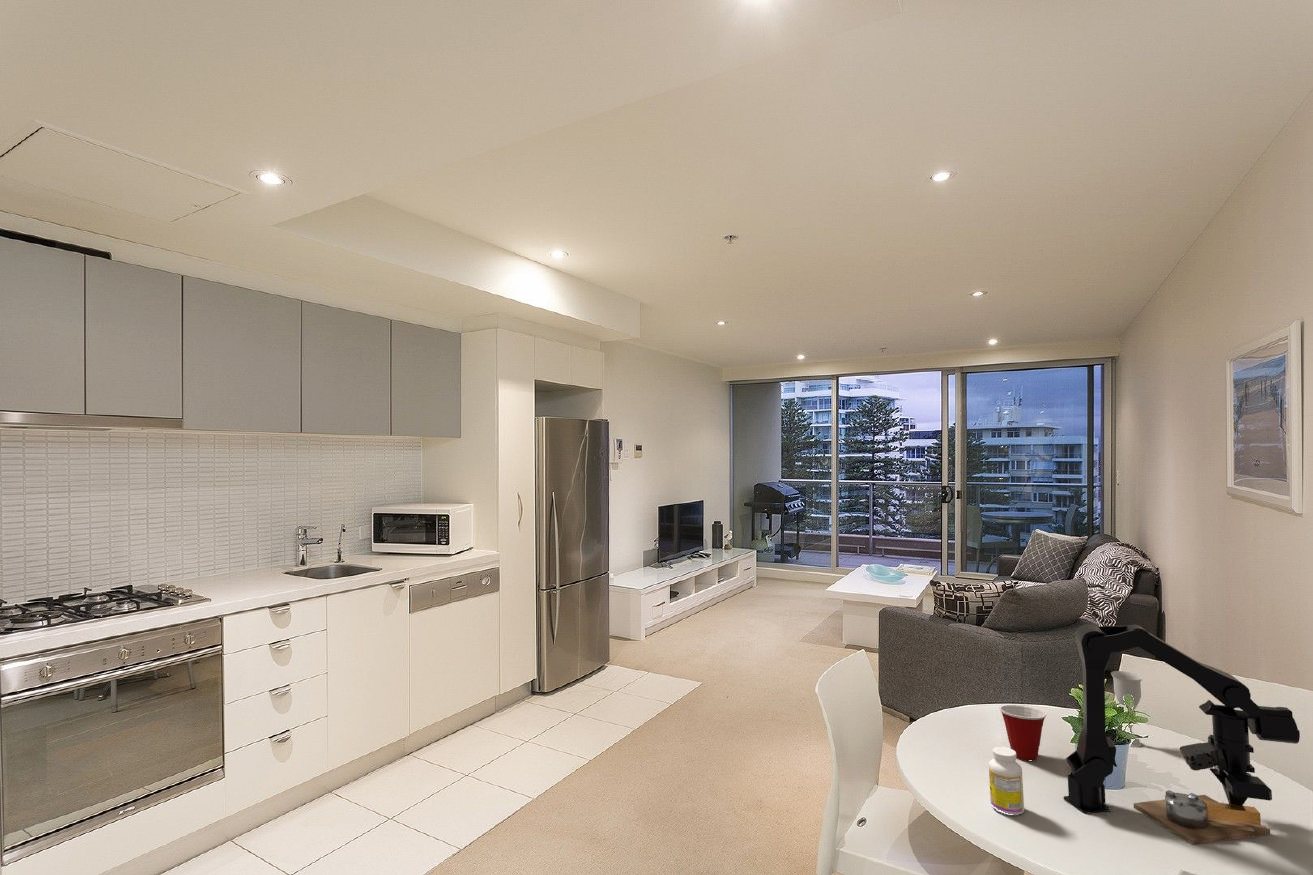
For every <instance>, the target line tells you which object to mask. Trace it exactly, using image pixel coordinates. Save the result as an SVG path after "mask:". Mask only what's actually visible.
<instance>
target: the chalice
mask: <svg viewBox="0 0 1313 875" xmlns="http://www.w3.org/2000/svg"><path fill="white" fill-rule="evenodd" d="M1110 675H1111V676H1112V678H1113V693H1114V695H1115V697H1116V700H1117V702H1118V703H1119V705H1120V704H1122V705H1125V704H1124V700H1123V696H1124V695H1126V694H1130V695H1132V696H1133V698H1134V707H1133V710H1134V711H1136V709H1137V707H1138V705H1139V703H1140V701H1141V697H1142V689H1141V687H1142V685H1141V682H1142V680H1143V677H1142V675H1140V674H1137V673H1135V672H1130V671H1120V670H1114V671H1111V672H1110ZM1128 727H1129V728H1130V732H1131V733H1133V734H1135V733H1134V732H1133V730H1132V729H1133V727H1134V724H1133V725H1129V726H1128ZM1130 747H1131V748H1140V747H1142V743H1141V740H1140V739H1139V738H1138V739H1135V740H1134V741H1133V742H1132V744H1131V746H1130Z"/></svg>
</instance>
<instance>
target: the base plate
mask: <svg viewBox="0 0 1313 875" xmlns="http://www.w3.org/2000/svg"><path fill="white" fill-rule="evenodd" d="M1197 795H1198V797H1199V799H1201V800H1202V801H1210V802H1218V803H1220V802H1219V801H1217V800H1215V799H1213V798H1211V797H1210V796H1207V795H1206V794H1197ZM1133 809H1135V810H1137V811H1139V812H1140V813H1142V814H1144V815H1145V816H1146V817H1148V818H1150V819H1151V820H1153V821H1155V822H1156V823H1158V824H1159V825H1160V826H1163V827H1165V828H1166V829H1168V830H1169V831H1171V832H1172V833H1174V834H1176V835H1177V836H1179V837H1181V838H1183V839H1184V840H1185V841H1187V842H1189V843H1191V845H1199V844H1207V843H1215V842H1222V841H1223V842H1225V841H1231V840H1237V839H1238V840H1239V839H1245V838H1246V839H1247V838H1251V837H1260V836H1268V835H1271V833H1272V832H1271V829H1270V828H1268V827H1266V826H1264V825H1263V824H1261V826H1260V825H1253V824H1245V823H1237V822H1230V821H1222V820H1215V819H1208V824H1209V825H1208V827H1206V828H1191V827H1187V826H1183V825H1180V824H1178V823H1176V822H1174V821H1172V820H1170V819H1169V818H1168V817H1167V816H1166V806H1165V798H1164V799H1158V800H1148V801H1141V802H1133Z"/></svg>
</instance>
